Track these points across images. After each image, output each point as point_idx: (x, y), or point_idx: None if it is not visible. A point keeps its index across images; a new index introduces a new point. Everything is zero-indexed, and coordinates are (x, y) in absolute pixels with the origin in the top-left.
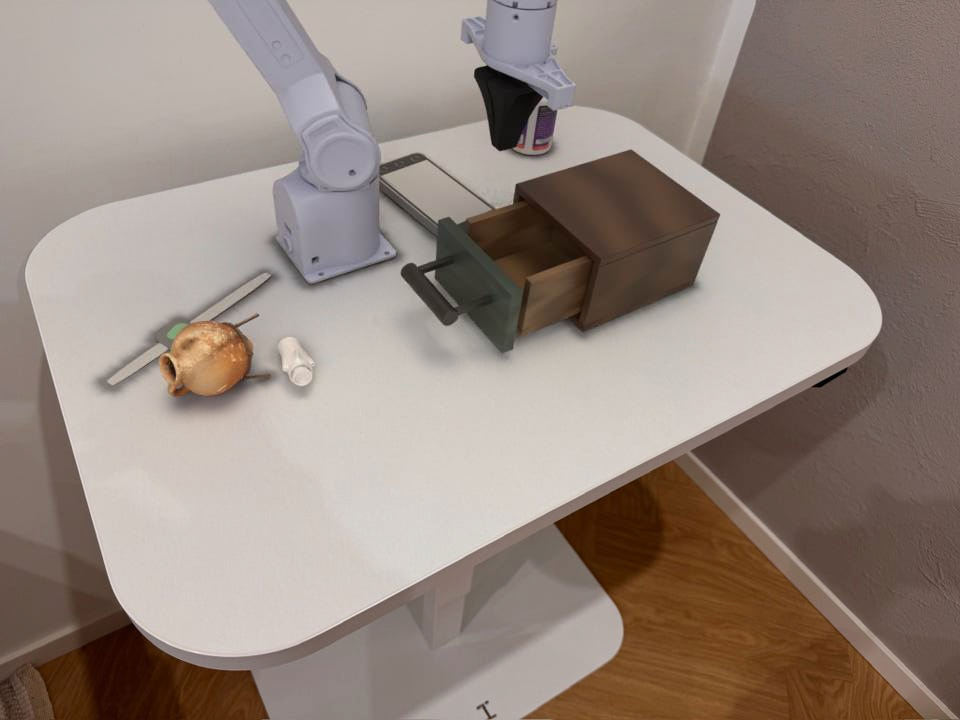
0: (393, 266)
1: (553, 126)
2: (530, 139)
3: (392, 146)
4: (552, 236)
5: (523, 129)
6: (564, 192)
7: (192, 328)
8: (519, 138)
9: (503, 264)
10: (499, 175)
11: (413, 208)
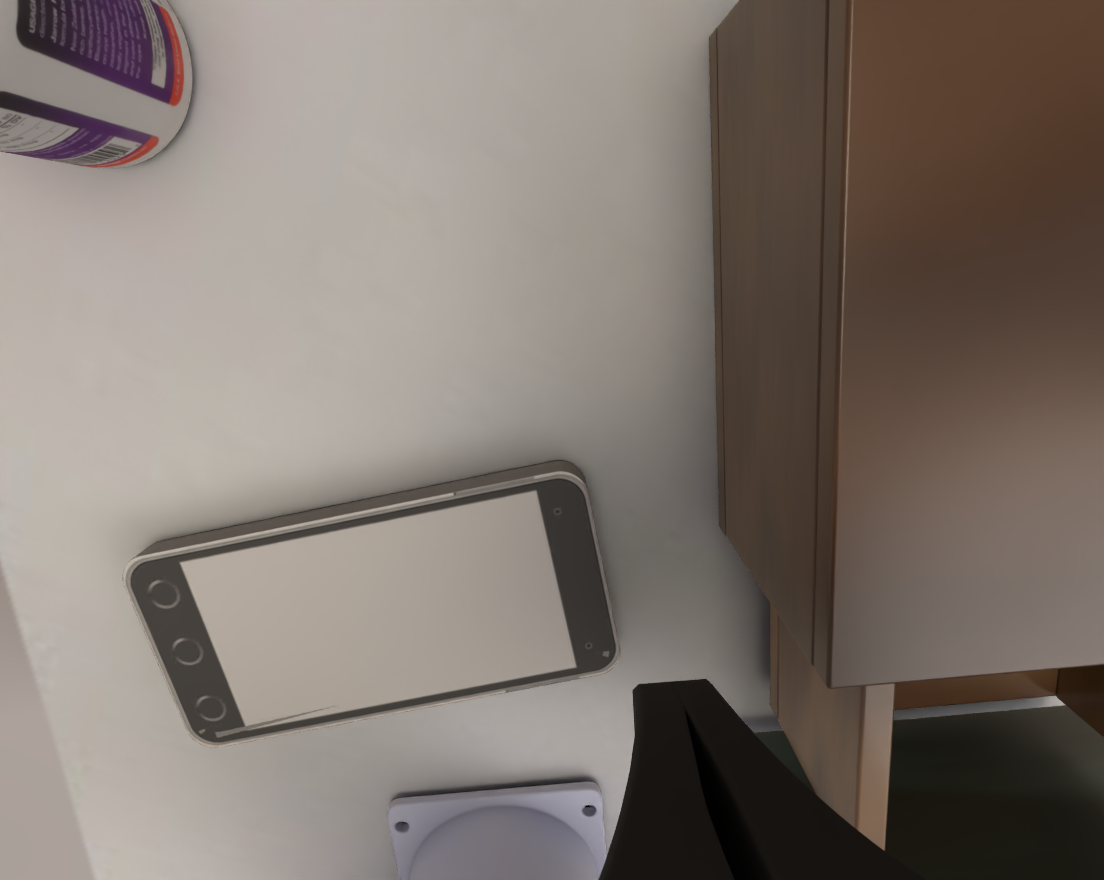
0: None
1: None
2: (143, 109)
3: (30, 589)
4: None
5: (758, 738)
6: (999, 532)
7: None
8: (729, 706)
9: None
10: (297, 318)
11: (442, 702)
